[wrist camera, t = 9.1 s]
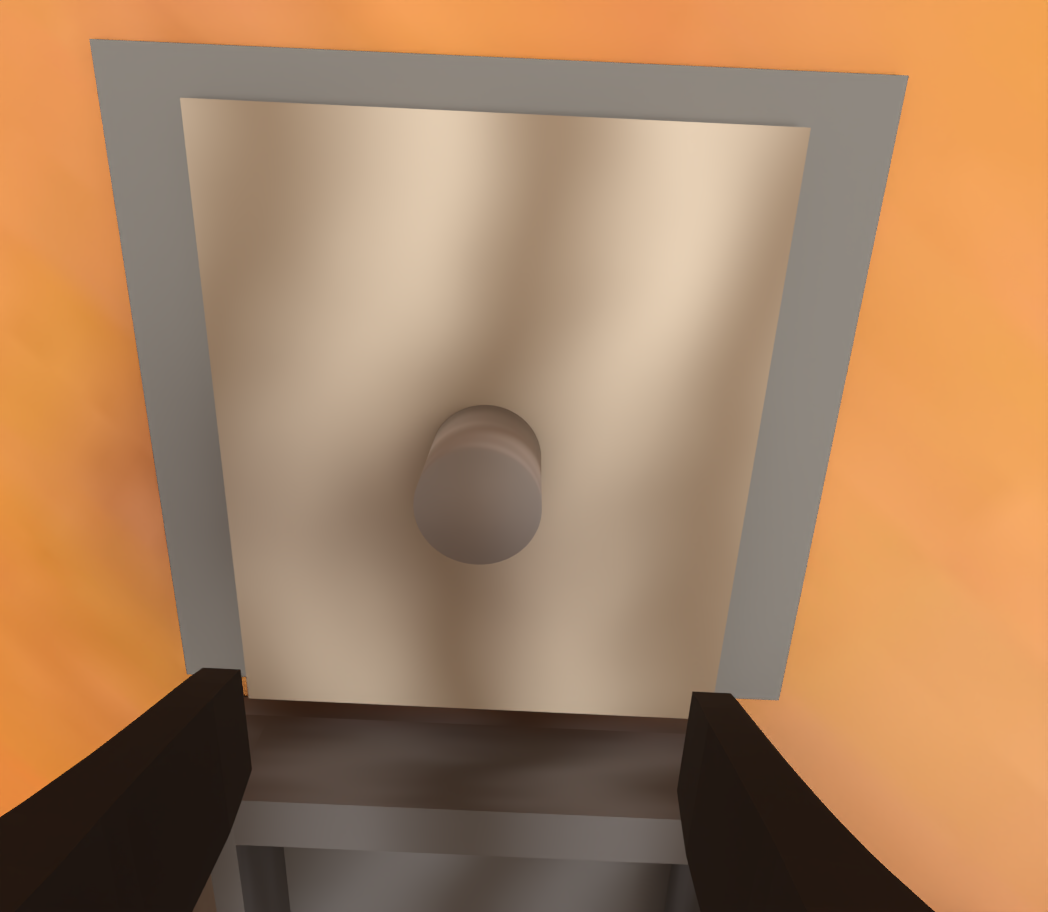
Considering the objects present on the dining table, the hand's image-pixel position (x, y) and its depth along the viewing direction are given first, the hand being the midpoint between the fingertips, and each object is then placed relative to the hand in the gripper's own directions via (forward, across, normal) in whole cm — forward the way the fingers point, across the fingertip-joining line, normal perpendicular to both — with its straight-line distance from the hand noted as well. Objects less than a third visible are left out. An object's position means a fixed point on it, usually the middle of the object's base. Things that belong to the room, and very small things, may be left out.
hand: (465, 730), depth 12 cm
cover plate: (+9, 0, -1) cm, 9 cm away
